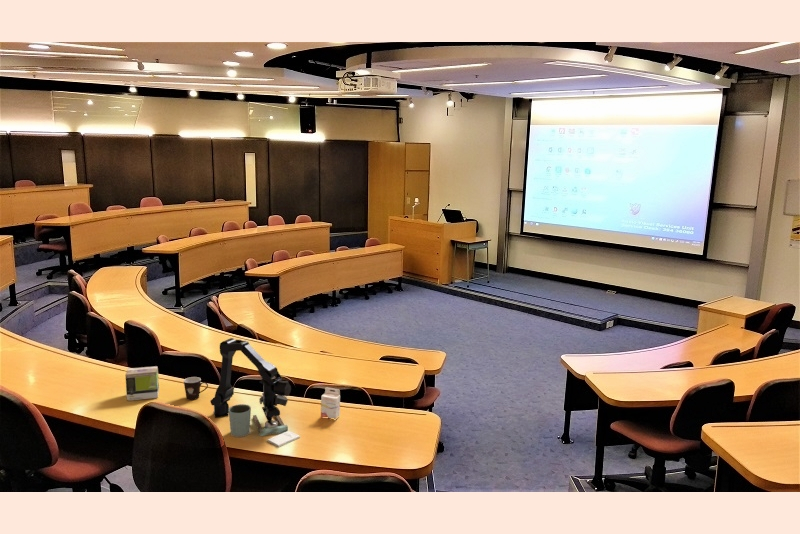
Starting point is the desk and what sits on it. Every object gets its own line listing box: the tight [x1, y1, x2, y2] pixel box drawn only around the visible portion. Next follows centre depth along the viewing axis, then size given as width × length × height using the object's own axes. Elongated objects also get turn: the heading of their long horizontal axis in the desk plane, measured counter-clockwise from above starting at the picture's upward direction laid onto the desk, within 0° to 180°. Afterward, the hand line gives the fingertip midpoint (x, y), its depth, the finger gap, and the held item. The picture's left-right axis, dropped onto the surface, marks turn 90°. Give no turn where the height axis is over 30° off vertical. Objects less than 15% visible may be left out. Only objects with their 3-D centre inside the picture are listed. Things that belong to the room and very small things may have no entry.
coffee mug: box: [183, 376, 209, 401], centre depth 301 cm, size 12×9×10 cm
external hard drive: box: [266, 430, 301, 448], centre depth 260 cm, size 2×8×12 cm
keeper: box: [264, 419, 279, 428], centre depth 270 cm, size 6×6×3 cm
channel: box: [252, 414, 289, 437], centre depth 274 cm, size 13×20×2 cm, turn 25°
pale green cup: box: [228, 403, 252, 438], centre depth 264 cm, size 10×10×12 cm
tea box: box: [125, 365, 160, 401], centre depth 301 cm, size 15×10×15 cm
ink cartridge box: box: [320, 387, 341, 419], centre depth 283 cm, size 9×5×15 cm, turn 74°
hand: (269, 422), depth 273 cm, fingers closed
